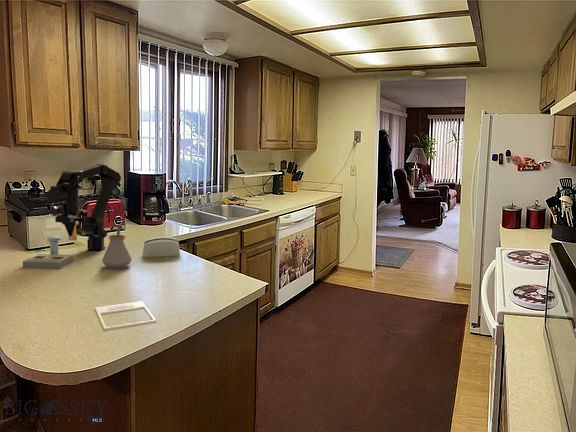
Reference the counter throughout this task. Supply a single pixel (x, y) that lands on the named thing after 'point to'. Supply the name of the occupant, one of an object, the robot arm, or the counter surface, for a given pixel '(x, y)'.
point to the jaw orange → (74, 232)
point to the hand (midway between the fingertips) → (72, 235)
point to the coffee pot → (116, 252)
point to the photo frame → (123, 308)
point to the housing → (48, 261)
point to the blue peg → (53, 244)
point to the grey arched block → (161, 247)
